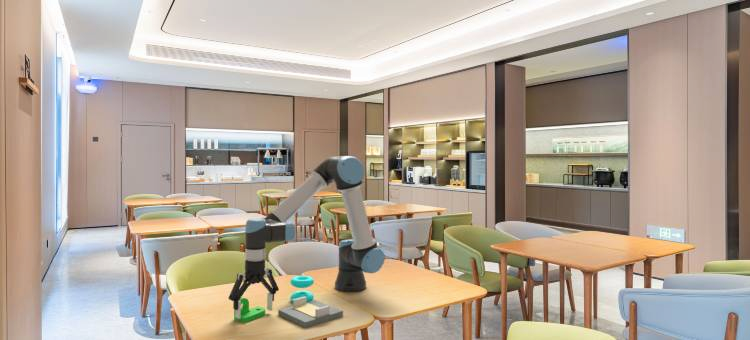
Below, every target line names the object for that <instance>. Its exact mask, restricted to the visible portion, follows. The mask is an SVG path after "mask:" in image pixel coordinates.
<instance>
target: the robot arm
mask: <svg viewBox="0 0 750 340" xmlns="http://www.w3.org/2000/svg"><path fill="white" fill-rule="evenodd" d="M364 176H365V167H364V164H363V163H362V161H361V160H360V159H358V158H357V157H356V156H351V155H341V156H340V155H333V156H330V157H328V158H326V159H325V160H324V161H322V162H320V163H319V164H318V165H317V166H316V167H315V168H314V169H313V170H312V171H311V173H310V176H309V177H308V178H306V179H305V181H303V182H302V183H301V184H300V185H299V186H298V187H297V188H296V189H295V190H294V191H293V192H292V193H290V194H289V195H288V196H287V197H286V198H285V199H284V200H283V201H282V202H281V203H280V204H279V205H278V206H276V208H274V209H273V210H272V211H271V212H270V213H269V214H268V215H267V216H265V217H261V218H250V219H247V220H246V223H245V230H244V232H245V236H244V237H245V246H244V247H245V251H244V252H245V254H244V258H245V261H244V270H245V271H244V273H237V274H236V280H235V282H234V284H233V287H232V289H231V291H230V293H229V295H228V300H229V301H232V302H233V307H232V308H233V311H234V310H235V317H236V318H238V319H241V308H242V304H241V301H239V300H240V298H241V297H242V298H243V295H244V294H245V292H246V291H247V289H248V288H249V287H250V286H251V285H255V284H260V283H261V284H262V285H263V286H264V288H265V289H266V290H267V291H268V292H267V293H266V310H268V311H271V312H272V311H273V302H274V301H275V295H276V294H277V292H278V291H279V290H280V289H279V286H278V284H277V282H276V280H275V278H274V276H273V270H272V269H271V268H266V259H265V258H266V244H270V243H280V242H290V241H293V240H294V239H295V237H296V227H295V225H294V223H293V222H291V221H289V220H290V219H291V218H292V217H293V216H295V214H296V213H298V211H300V210H301V208H303V207H304V206H305V205H306V204H307V203H309V201H310V200H311V199H312V198H313V197H315V195H316V194H317V193H319V192H320V190H322V189H324V188H325V189H326V188H327V187H328V186H329V185H330V184H332V183H335V187H336V190H337V191H338V192H340V193H341V197H342V201H343V205H344V209H345V212H346V217H347V222H348V225H349V228H350V233H351V238H350V239H349V238H348V239H342V240H340V241H339V244H338V273H337V276H336V279H335V282H334V288H335V289H336V290H338V291H340V292H349V293H350V292H359V291H360V292H361V291H363V290H365V289H367V281H366V276H365V274H364V273H367V274H375V273H377V272H379V271H380V270H381V269H382V267H383V265H384V264H385V261H386V260H385V259H386V258H385V257H386V256H385V252H384V251H383V250H382V249H381V248H380V247H379V246H378V243H377V240H376V239H375V238H374V237H373V236H372V232H371V228H370V224H369V220H368V216H367V210H366V207H365V203H364V198H363V194H362V190H361V187H362V186H363V178H364ZM265 268H266V269H265ZM265 276H267V277H266V278H267V280H268V281H269V283H268V281H267V280H266V278H265Z"/></svg>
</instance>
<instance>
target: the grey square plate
mask: <svg viewBox="0 0 750 340" xmlns="http://www.w3.org/2000/svg"><path fill="white" fill-rule="evenodd" d="M277 311H278V313H277V314H278V315H279V316H280V317H282V318H285V319H286V320H288V321H291V322H293V323H294V324H297V325H299V326H301V327H303V328H305V329H307V328H308V327H309V328H310V327H312V326H315V325H319V324H321V323H325V322H328V321H332V320H335V319H338V318H340V317H343V316H344V310H342V309H339V308H337V307H334V306H332V305H329V304H326V303H323V302H321V301H319V300H316V299H313V300H312V301H309V302H306V297H301V298H297V299H293V302H292V305H291V306H287V307H284V308H280V309H278V310H277ZM337 317H338V318H337ZM334 318H335V319H334Z"/></svg>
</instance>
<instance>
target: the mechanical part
mask: <svg viewBox="0 0 750 340" xmlns="http://www.w3.org/2000/svg"><path fill="white" fill-rule="evenodd" d="M239 301H241V319H238V318H236V317H235V310H234V309H233V313H234V314H233V316H234V317H233V320H234V321H237V322H242V323H244V324H246V323H248V322H250V321H253V320H255V319H256V320H257V319H258V318H261V317H263V316H265V315H266V308H265V307H261V306H255V307H253V308H250V302H249V299H248V298H246V297H243V296H242V297H241V298H240V300H239Z"/></svg>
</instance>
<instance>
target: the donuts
mask: <svg viewBox="0 0 750 340" xmlns="http://www.w3.org/2000/svg"><path fill="white" fill-rule="evenodd" d="M314 282H315V279H314V278H313V277H312V276H309V275H298V276H297V275H296V276H294V277H291V278H290V285H292V287H294V288H298V289H305V288H310V287H311V286H313V285H314ZM301 297H306V302H309V301H313V300H314V298H315V297H314V294H313V293H312V292H311V291H308V290H298V291H294V292H293V293H292V294H291V295H290V301H291V302H292V303H293V299H297V298H301Z"/></svg>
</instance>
